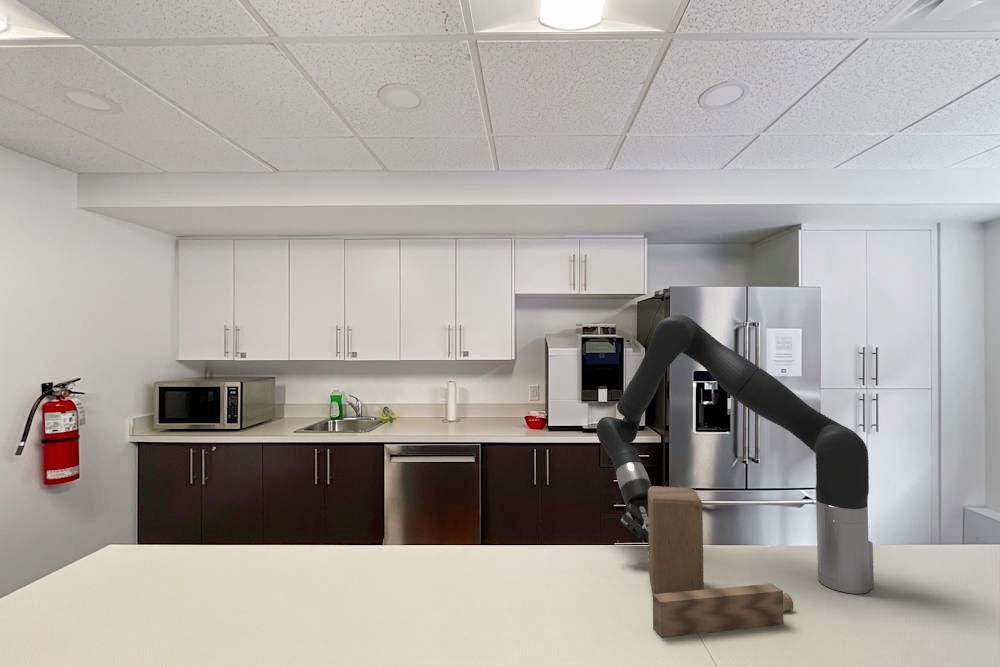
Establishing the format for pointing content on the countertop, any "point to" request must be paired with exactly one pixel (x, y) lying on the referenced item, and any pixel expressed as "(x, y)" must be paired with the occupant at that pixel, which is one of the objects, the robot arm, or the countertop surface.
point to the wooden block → (675, 539)
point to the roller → (787, 602)
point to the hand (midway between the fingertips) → (659, 554)
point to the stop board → (717, 609)
